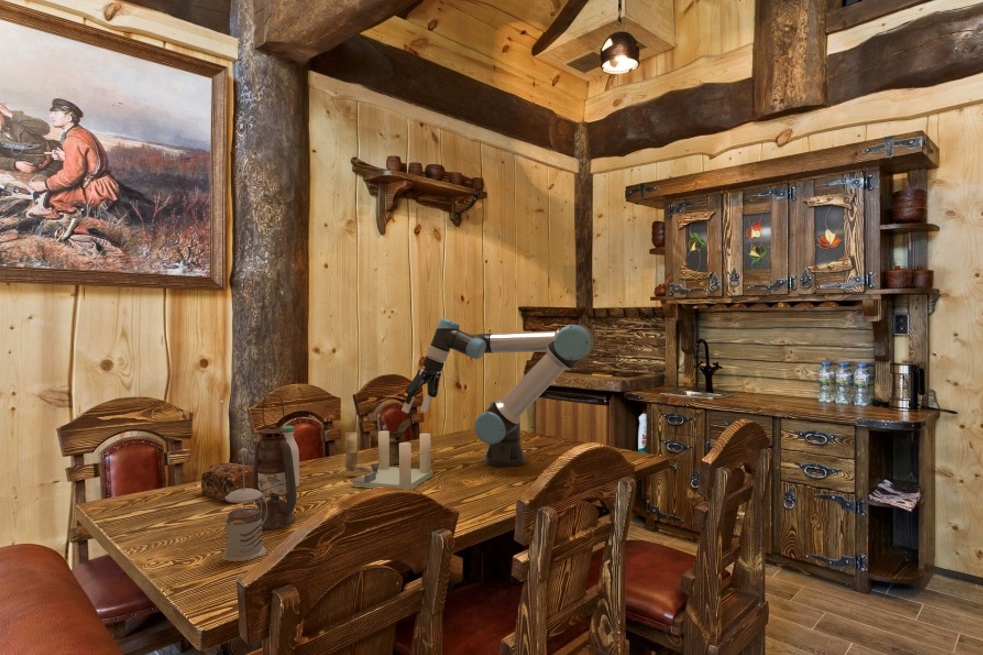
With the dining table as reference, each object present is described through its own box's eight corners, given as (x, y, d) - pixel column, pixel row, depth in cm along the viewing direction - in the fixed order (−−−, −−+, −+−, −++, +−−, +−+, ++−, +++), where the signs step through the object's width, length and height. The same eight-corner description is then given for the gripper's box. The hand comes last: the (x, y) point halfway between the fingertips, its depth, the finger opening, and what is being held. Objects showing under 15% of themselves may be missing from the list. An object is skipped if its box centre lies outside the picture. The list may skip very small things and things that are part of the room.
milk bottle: (304, 485, 197) (303, 425, 196) (287, 491, 190) (286, 429, 189) (286, 482, 200) (286, 423, 199) (269, 488, 193) (268, 427, 192)
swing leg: (380, 470, 206) (379, 433, 205) (374, 473, 202) (374, 435, 202) (349, 467, 209) (349, 431, 209) (343, 470, 205) (343, 434, 205)
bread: (263, 497, 184) (262, 465, 184) (230, 506, 176) (229, 472, 175) (231, 487, 195) (231, 457, 195) (199, 494, 187) (198, 463, 187)
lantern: (277, 534, 152) (276, 398, 151) (237, 523, 160) (236, 394, 160) (310, 521, 161) (309, 393, 161) (271, 511, 170) (269, 390, 169)
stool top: (432, 475, 207) (432, 433, 207) (407, 492, 188) (407, 445, 187) (380, 471, 213) (379, 430, 213) (350, 487, 194) (349, 441, 194)
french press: (212, 558, 137) (210, 451, 136) (249, 540, 148) (248, 441, 147) (245, 564, 133) (244, 454, 133) (280, 545, 144) (279, 443, 144)
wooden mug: (401, 468, 219) (401, 419, 218) (374, 463, 226) (373, 416, 225) (416, 463, 226) (416, 416, 226) (389, 458, 233) (389, 413, 233)
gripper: (442, 357, 232) (422, 407, 233) (410, 352, 209) (388, 407, 210) (458, 365, 229) (437, 415, 230) (427, 360, 206) (405, 416, 207)
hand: (414, 411), depth 220 cm, fingers open, 13 cm apart
